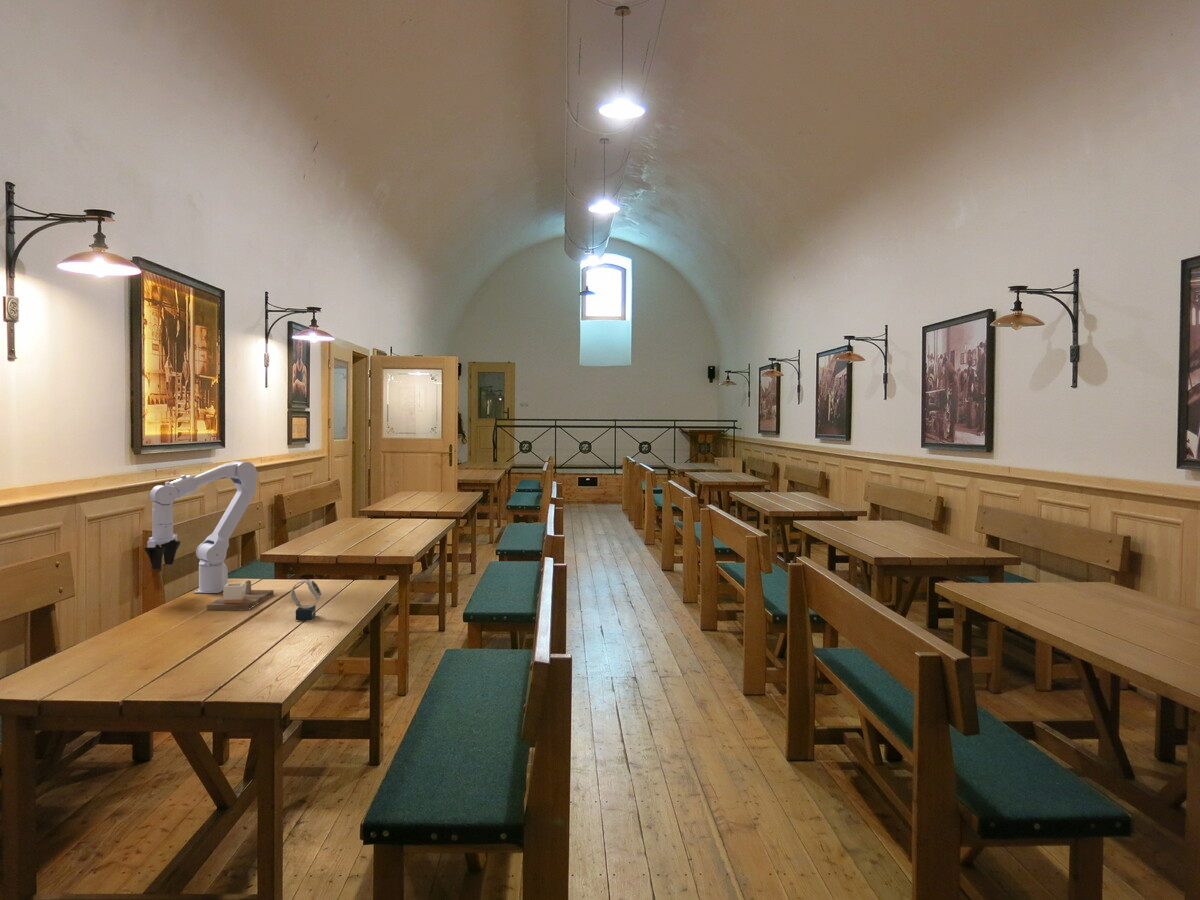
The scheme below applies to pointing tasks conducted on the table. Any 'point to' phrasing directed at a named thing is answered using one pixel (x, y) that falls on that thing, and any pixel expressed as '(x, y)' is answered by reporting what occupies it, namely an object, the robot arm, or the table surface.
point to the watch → (306, 610)
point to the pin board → (250, 600)
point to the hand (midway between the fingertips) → (162, 566)
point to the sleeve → (234, 593)
